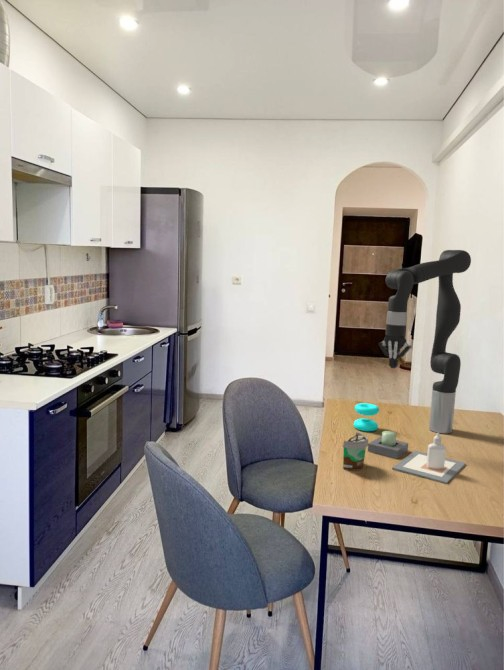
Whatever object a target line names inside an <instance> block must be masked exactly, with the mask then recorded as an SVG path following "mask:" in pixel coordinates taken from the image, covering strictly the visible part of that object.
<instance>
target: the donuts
mask: <svg viewBox="0 0 504 670" xmlns="http://www.w3.org/2000/svg"><path fill="white" fill-rule="evenodd" d="M354 410H355V412H356V413H357V414H359V415H362V416H368V417H369V416H371V417H372V416H375V415H377V414H378V413H379V412H380V408H379V406H378V405H376V404H373V403H370V402H369V403H368V402H363V403H362V402H361V403H356V405H355V406H354ZM353 427H354V428H355V429H356V430H359V431H361V432H375V431H377V430H378V428H379V424H378V422H376V421H375V420H374V419H369V418H365V417H364V418H358V419H355V420H354V422H353Z"/></svg>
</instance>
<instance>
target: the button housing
mask: <svg viewBox="0 0 504 670" xmlns="http://www.w3.org/2000/svg"><path fill="white" fill-rule="evenodd" d="M381 443H382V435H381V436H378V437H377V438H375V439H374V440H372V441H370V442H368V446H367V452H368V453H372V454H375V455H380V456H384V457H388V458H392V459H396V460H397V459H398V458H400V457H401V456H402V455H404V454H405V453H407V452H408V451H409V443H408V442H406V441H401V440H397V439H396V444H395V446H394V447H390V446H386V445H382V444H381Z"/></svg>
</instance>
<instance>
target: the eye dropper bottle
mask: <svg viewBox="0 0 504 670" xmlns="http://www.w3.org/2000/svg"><path fill="white" fill-rule="evenodd" d="M446 449H447V448H446V446H445V445H444V444H442V437H441V436H440V433H437V432H436V434H435V436H433V442H432V443H429V444H428V445H427V463H426V466H427V467H428V468H430V469H443V468H444V464H445V458H446V452H447V451H446Z"/></svg>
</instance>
